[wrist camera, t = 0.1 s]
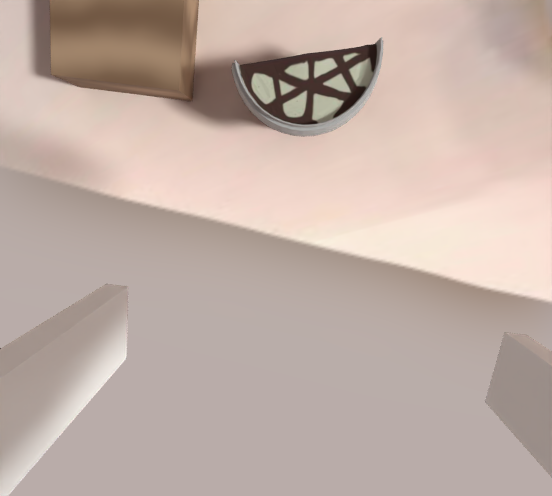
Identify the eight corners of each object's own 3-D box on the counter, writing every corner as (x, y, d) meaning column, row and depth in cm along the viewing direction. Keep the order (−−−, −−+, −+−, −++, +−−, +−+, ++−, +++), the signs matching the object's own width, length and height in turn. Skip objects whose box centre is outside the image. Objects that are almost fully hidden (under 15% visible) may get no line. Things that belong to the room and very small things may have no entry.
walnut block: (82, -41, 34) (48, -77, 29) (201, -26, 34) (187, -59, 29) (82, 88, 37) (50, 74, 32) (193, 101, 37) (179, 90, 32)
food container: (251, 151, 37) (239, 143, 28) (243, 91, 36) (227, 61, 26) (364, 135, 37) (394, 121, 27) (360, 74, 35) (389, 36, 26)
